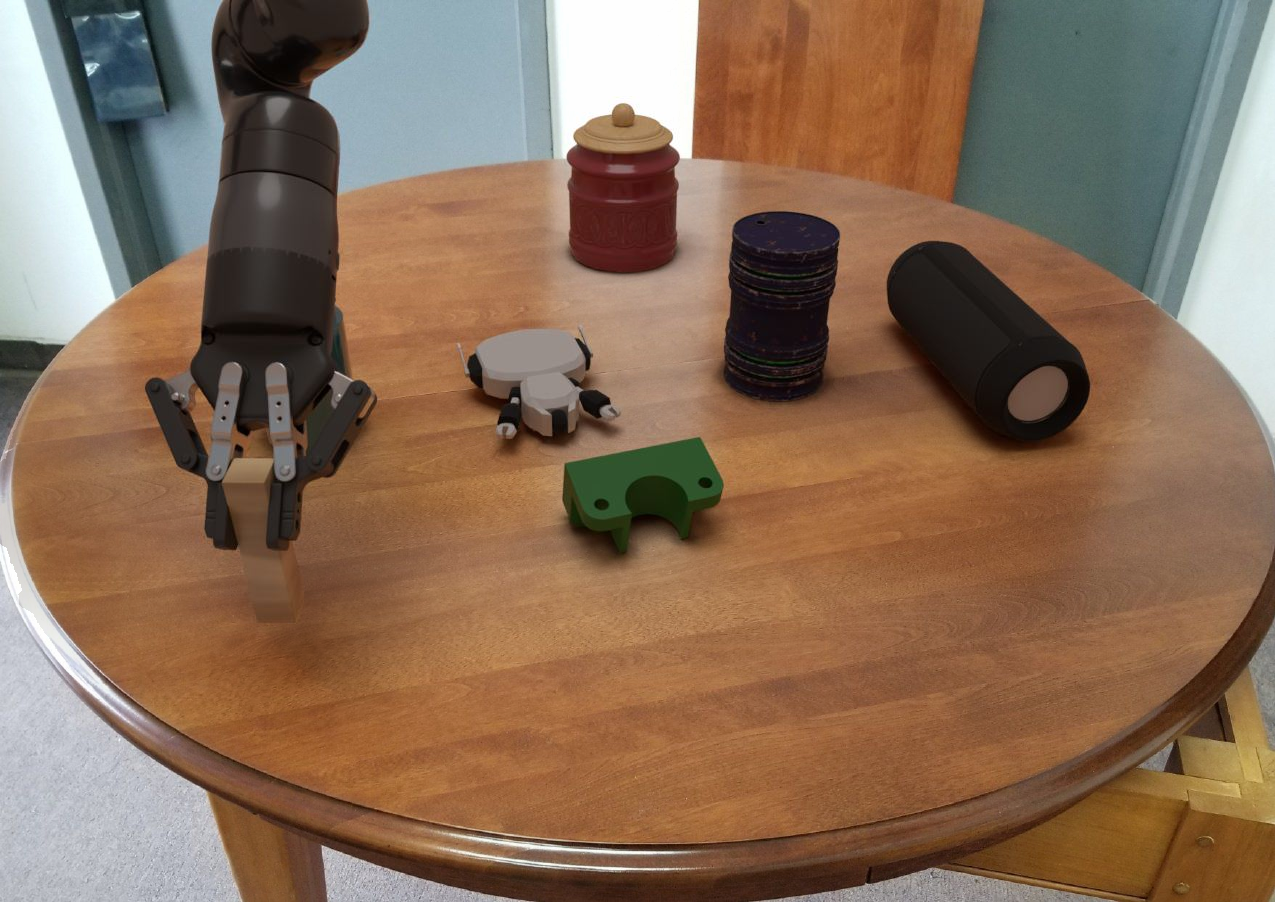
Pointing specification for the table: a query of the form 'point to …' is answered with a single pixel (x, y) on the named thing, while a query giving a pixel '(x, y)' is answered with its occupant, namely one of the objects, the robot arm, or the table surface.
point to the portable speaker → (987, 342)
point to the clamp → (641, 487)
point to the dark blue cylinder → (779, 304)
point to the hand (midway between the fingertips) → (251, 547)
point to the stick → (262, 542)
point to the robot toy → (537, 380)
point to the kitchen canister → (623, 192)
